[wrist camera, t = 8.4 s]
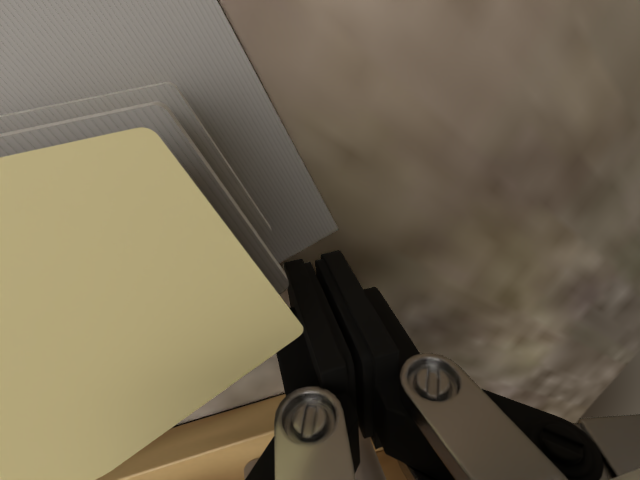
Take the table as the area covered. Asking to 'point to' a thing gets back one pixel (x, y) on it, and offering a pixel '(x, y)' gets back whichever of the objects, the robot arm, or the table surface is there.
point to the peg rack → (230, 449)
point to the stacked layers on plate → (135, 226)
